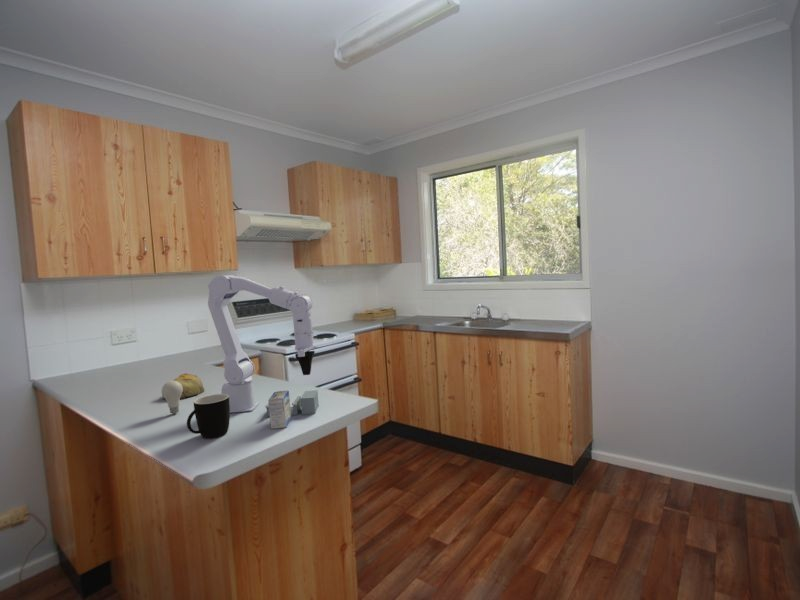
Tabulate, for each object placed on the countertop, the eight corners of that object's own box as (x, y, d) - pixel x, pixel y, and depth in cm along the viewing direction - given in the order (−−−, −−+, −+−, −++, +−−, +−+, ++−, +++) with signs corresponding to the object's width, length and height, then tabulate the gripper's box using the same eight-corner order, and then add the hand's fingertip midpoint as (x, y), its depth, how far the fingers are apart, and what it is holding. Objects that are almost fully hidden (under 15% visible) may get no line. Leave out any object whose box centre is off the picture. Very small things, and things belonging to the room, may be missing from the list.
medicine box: (286, 428, 119) (284, 397, 118) (270, 429, 119) (267, 399, 118) (291, 418, 127) (289, 390, 126) (276, 419, 126) (273, 391, 126)
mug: (218, 426, 124) (215, 392, 123) (239, 430, 119) (235, 395, 118) (179, 442, 113) (175, 405, 113) (200, 447, 109) (196, 409, 108)
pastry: (205, 388, 169) (203, 368, 169) (203, 396, 158) (201, 375, 157) (166, 394, 164) (163, 374, 164) (160, 403, 153) (158, 381, 152)
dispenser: (266, 418, 128) (264, 402, 128) (273, 408, 137) (271, 393, 136) (314, 414, 129) (313, 398, 129) (318, 405, 138) (317, 390, 137)
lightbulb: (189, 411, 140) (186, 378, 139) (174, 417, 134) (170, 383, 133) (175, 410, 142) (171, 378, 141) (159, 416, 136) (156, 383, 135)
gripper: (312, 335, 129) (316, 379, 130) (318, 328, 143) (322, 368, 144) (289, 337, 128) (292, 381, 129) (297, 330, 143) (301, 369, 144)
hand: (306, 374), depth 137 cm, fingers closed
